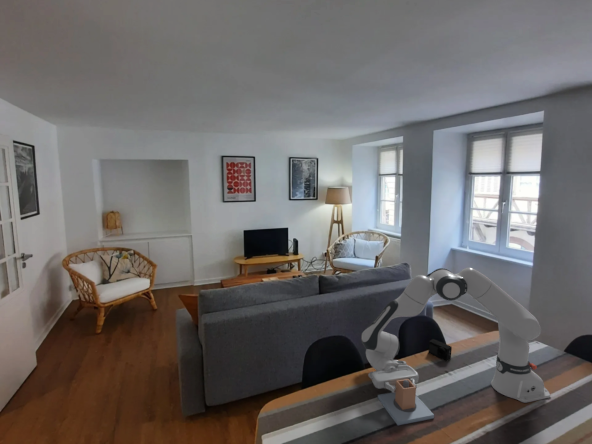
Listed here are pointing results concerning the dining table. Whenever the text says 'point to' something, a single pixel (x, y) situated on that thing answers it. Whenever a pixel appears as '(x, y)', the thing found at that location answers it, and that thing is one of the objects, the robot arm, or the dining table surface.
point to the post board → (405, 415)
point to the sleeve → (405, 395)
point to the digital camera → (440, 350)
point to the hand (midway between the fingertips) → (404, 389)
